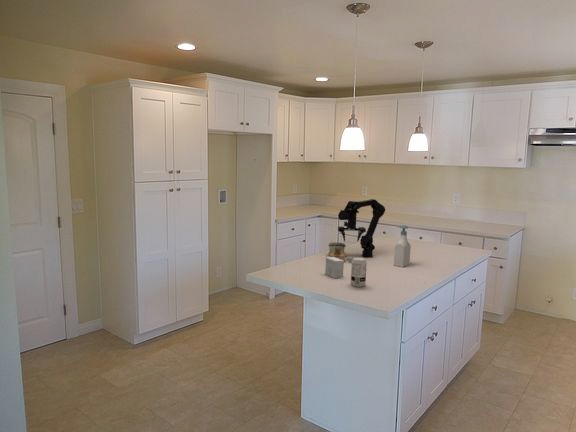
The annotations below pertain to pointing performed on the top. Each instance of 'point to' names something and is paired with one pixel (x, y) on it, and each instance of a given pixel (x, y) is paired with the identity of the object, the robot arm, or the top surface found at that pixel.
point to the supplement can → (358, 272)
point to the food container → (335, 244)
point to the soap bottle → (402, 249)
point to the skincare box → (334, 267)
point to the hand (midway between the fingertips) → (351, 241)
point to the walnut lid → (337, 253)
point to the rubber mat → (349, 260)
